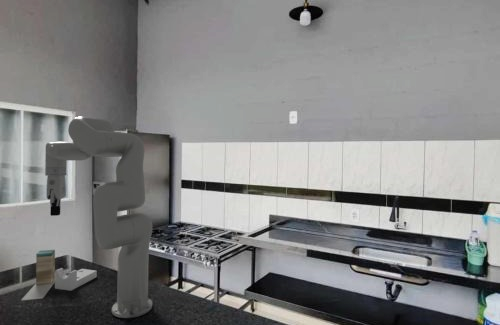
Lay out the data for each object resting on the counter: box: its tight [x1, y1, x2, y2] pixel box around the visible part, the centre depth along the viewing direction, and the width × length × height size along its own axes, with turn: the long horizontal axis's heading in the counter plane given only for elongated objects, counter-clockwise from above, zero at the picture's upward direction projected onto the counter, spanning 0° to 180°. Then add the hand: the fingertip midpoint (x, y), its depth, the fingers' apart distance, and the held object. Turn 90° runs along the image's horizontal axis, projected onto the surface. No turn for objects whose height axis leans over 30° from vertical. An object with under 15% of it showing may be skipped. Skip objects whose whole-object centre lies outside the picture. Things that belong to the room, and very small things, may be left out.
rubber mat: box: [20, 280, 55, 301], centre depth 113 cm, size 19×6×1 cm, turn 18°
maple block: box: [35, 249, 56, 285], centre depth 117 cm, size 4×5×12 cm
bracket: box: [54, 267, 98, 292], centre depth 118 cm, size 13×7×8 cm, turn 167°
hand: (55, 215), depth 128 cm, fingers closed
